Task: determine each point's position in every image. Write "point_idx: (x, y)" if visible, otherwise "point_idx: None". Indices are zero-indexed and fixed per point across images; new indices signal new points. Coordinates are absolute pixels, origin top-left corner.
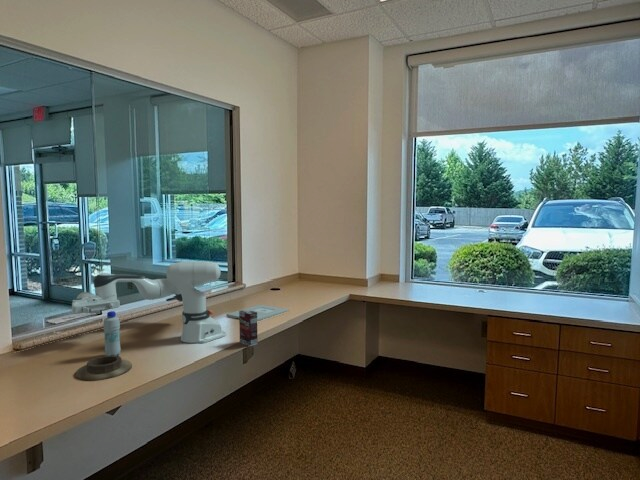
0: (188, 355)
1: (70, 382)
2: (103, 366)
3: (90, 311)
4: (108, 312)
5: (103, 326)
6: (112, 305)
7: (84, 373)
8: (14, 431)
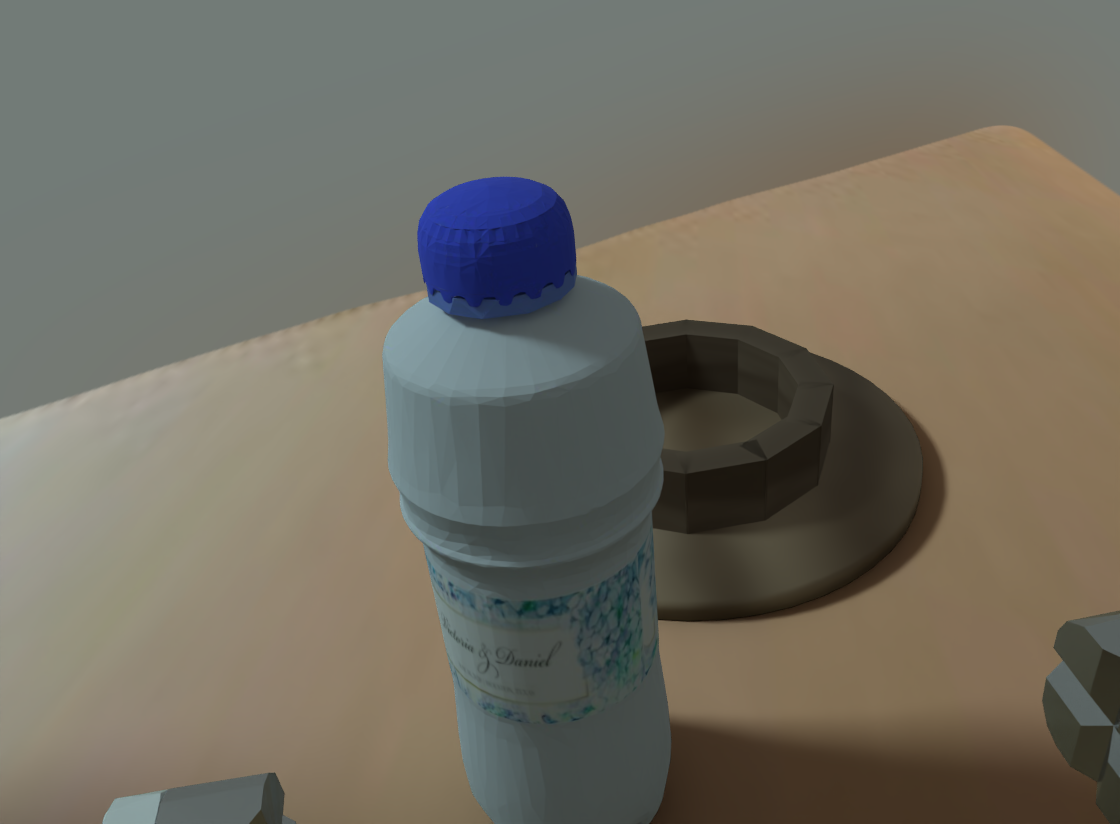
0: (3, 489)
1: (923, 378)
2: (694, 324)
3: (1071, 693)
4: (545, 189)
5: (660, 414)
6: (142, 798)
7: (841, 410)
8: (1017, 146)
